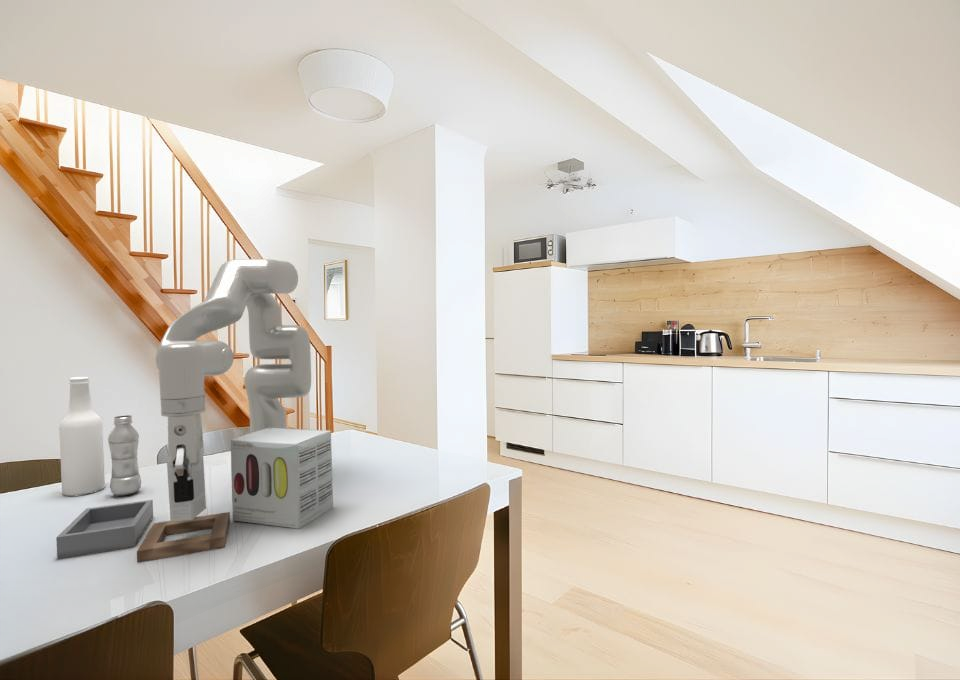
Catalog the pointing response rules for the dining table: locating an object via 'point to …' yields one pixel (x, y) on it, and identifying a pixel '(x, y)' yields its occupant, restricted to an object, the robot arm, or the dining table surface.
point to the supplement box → (281, 476)
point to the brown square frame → (158, 549)
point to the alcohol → (81, 443)
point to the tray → (105, 529)
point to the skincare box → (198, 504)
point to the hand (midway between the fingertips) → (187, 494)
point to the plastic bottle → (124, 457)
